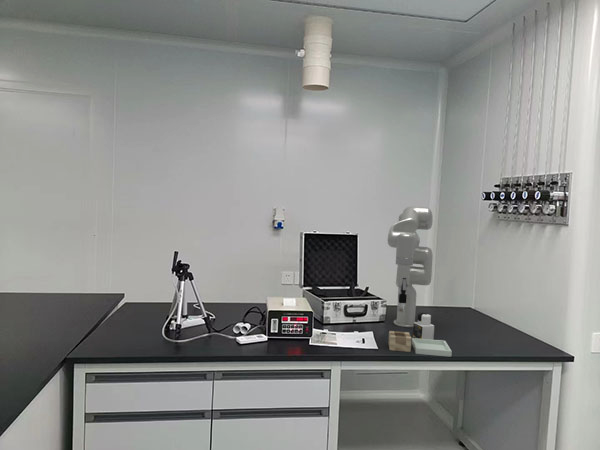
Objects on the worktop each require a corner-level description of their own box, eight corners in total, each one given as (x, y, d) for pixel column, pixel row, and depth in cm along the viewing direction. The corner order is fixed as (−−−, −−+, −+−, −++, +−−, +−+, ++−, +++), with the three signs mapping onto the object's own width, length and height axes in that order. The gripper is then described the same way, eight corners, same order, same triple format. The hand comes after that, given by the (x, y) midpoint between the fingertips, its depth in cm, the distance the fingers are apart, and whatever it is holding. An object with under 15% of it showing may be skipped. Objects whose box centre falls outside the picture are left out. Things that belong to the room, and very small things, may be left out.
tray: (411, 343, 212) (412, 338, 212) (444, 345, 210) (445, 340, 210) (415, 353, 197) (416, 348, 197) (451, 356, 195) (451, 351, 195)
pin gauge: (397, 309, 205) (398, 283, 204) (404, 310, 205) (406, 284, 204) (398, 311, 202) (399, 284, 201) (405, 312, 201) (406, 285, 201)
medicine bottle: (412, 336, 222) (414, 312, 222) (424, 335, 225) (426, 311, 224) (421, 340, 216) (422, 316, 215) (433, 339, 218) (435, 315, 217)
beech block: (388, 343, 209) (389, 330, 209) (408, 345, 208) (409, 332, 208) (389, 350, 200) (390, 336, 200) (410, 351, 199) (411, 338, 199)
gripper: (394, 258, 210) (392, 297, 212) (397, 263, 194) (394, 305, 195) (410, 259, 209) (408, 298, 211) (415, 264, 193) (412, 306, 194)
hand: (402, 301), depth 203 cm, fingers closed on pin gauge, 3 cm apart
